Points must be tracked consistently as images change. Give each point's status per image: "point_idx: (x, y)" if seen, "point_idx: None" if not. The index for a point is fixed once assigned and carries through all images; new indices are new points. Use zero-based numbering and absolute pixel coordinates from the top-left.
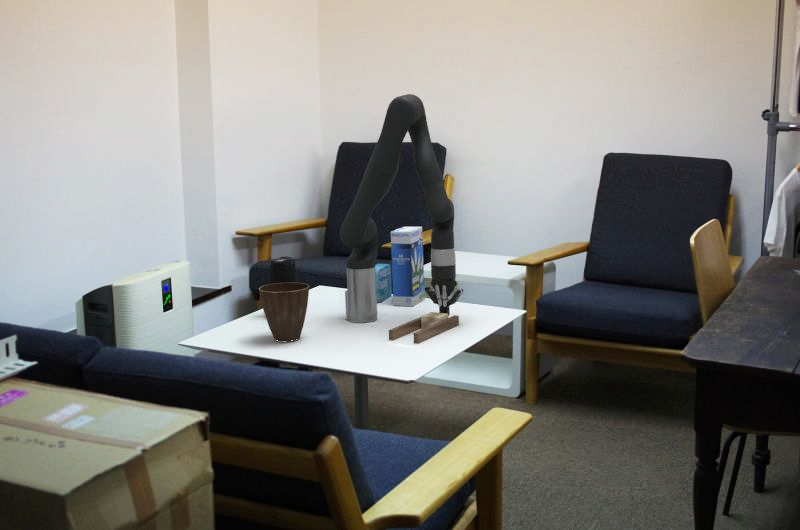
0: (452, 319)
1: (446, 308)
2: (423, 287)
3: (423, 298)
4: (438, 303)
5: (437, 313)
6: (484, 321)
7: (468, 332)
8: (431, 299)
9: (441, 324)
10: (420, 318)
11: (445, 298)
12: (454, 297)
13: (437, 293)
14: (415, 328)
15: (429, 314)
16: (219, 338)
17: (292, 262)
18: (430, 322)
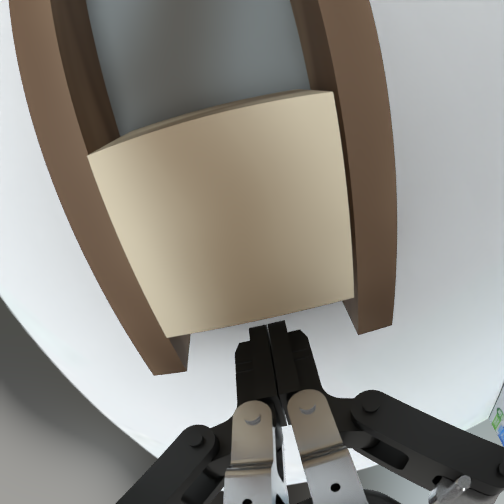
0: (111, 299)
1: (245, 395)
2: (502, 438)
3: (491, 416)
4: (326, 407)
5: (258, 294)
6: (172, 423)
7: (39, 271)
8: (415, 410)
9: (38, 119)
10: (359, 127)
11: (231, 477)
12: (140, 497)
13: (351, 502)
14: (299, 14)
15: (300, 212)
16: None
17: None
18: (199, 113)
